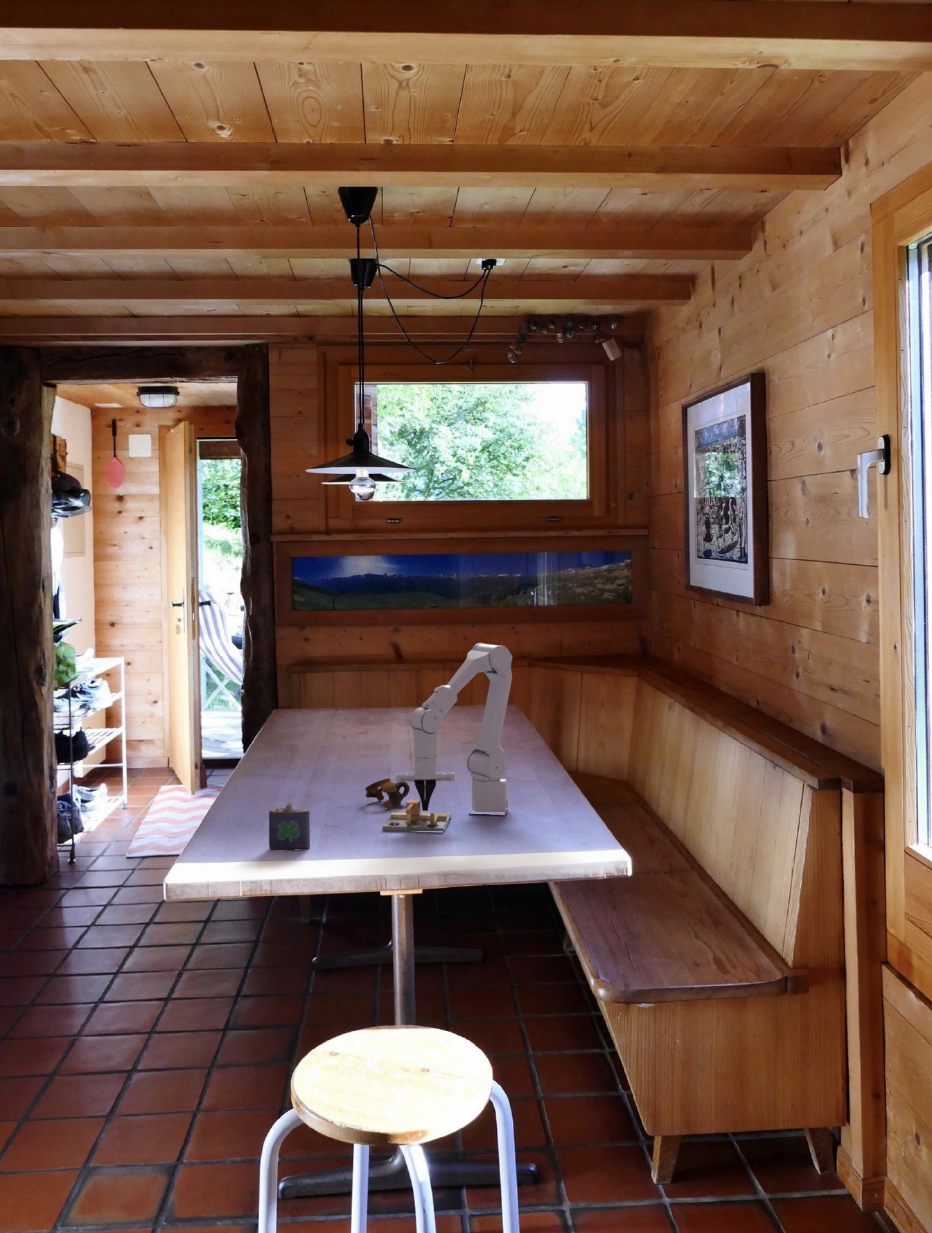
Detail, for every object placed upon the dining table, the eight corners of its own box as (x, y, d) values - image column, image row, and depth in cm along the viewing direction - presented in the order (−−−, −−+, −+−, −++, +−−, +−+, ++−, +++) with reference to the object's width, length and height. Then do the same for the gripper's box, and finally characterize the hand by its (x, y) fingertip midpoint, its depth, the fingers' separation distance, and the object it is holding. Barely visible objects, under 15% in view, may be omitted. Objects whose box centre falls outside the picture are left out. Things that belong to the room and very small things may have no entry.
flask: (310, 846, 218) (309, 800, 217) (309, 850, 215) (308, 804, 215) (269, 847, 217) (269, 801, 217) (268, 851, 214) (267, 804, 214)
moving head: (420, 815, 239) (420, 799, 239) (413, 825, 230) (413, 809, 230) (408, 814, 240) (408, 799, 239) (401, 824, 230) (401, 809, 230)
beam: (446, 818, 238) (446, 806, 238) (442, 826, 230) (442, 814, 230) (392, 816, 240) (392, 804, 239) (385, 824, 232) (385, 812, 232)
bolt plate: (451, 817, 243) (451, 812, 243) (443, 833, 229) (443, 827, 229) (394, 815, 245) (394, 810, 245) (382, 830, 231) (382, 825, 231)
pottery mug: (376, 813, 248) (365, 784, 251) (370, 821, 257) (359, 792, 259) (417, 797, 253) (406, 769, 255) (410, 805, 261) (399, 777, 264)
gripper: (452, 752, 241) (452, 805, 242) (395, 753, 240) (395, 806, 241) (455, 758, 234) (454, 812, 235) (396, 759, 233) (396, 813, 234)
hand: (425, 809), depth 237 cm, fingers closed
